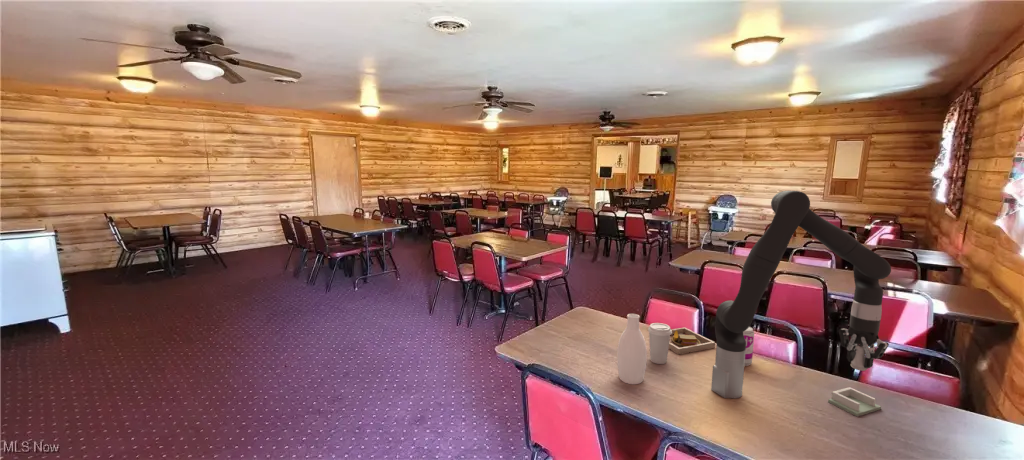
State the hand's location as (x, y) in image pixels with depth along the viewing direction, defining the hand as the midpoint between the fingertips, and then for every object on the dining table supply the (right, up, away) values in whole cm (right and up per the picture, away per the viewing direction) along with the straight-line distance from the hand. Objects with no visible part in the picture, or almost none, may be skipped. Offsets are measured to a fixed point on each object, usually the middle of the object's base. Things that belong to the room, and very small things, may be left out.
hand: (859, 364), depth 139 cm
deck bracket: (0, -15, +2) cm, 15 cm away
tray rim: (-37, -7, +54) cm, 66 cm away
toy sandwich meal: (-35, -8, +54) cm, 65 cm away
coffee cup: (-54, -10, +36) cm, 66 cm away
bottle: (-70, -13, +21) cm, 74 cm away
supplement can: (-21, -10, +34) cm, 41 cm away
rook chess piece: (0, -2, 0) cm, 2 cm away
